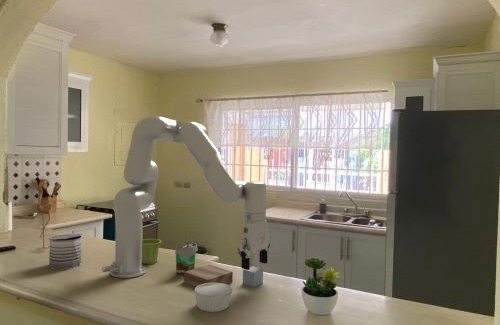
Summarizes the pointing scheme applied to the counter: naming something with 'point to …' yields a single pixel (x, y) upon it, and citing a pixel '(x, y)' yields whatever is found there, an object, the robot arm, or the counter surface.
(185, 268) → the food container
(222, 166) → the robot arm
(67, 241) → the can
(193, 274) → the walnut block
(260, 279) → the slate block
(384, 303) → the counter surface
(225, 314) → the counter surface
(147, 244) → the plant pot
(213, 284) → the ramekin
